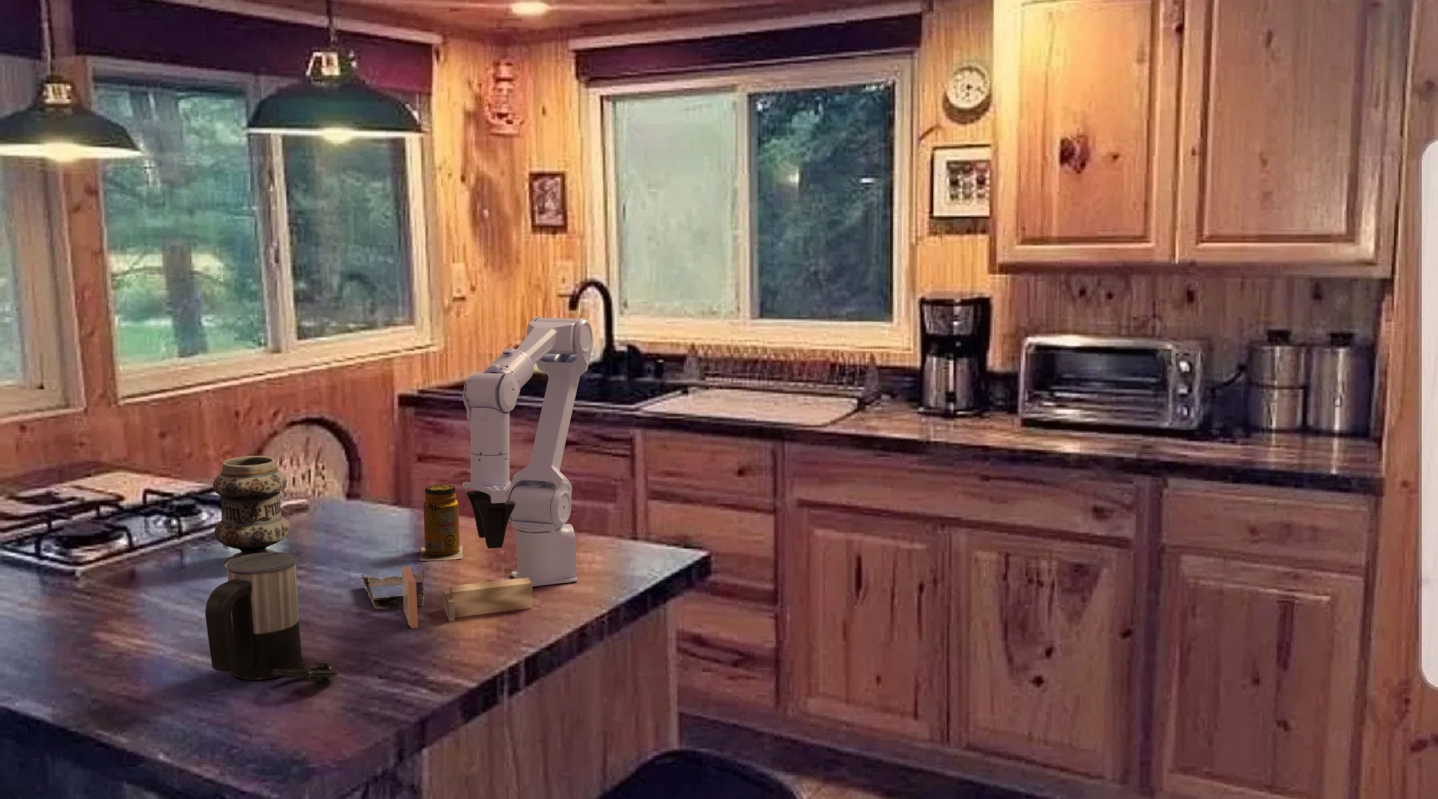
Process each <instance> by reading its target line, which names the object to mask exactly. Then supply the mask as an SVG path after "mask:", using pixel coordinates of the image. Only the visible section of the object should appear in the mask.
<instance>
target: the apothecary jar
mask: <svg viewBox="0 0 1438 799" xmlns="http://www.w3.org/2000/svg"><path fill="white" fill-rule="evenodd" d="M287 482H288V480H287V476H286V475H285V474H284V472H282V471H281V470H280V469H278V466H277V463H276V459H275V458H273V457H271V456H267V455H265V456H264V455H248V456H236V457H232V458H228V459H225V460H224V461H223V462H222V469H221V472H220V473H219V474H218V475H216V477H215V478H214V479H213V482H212V489H213V491H214V493H216V494H217V495H219V496H220V498H221V500H220V502H221V520H220V521H219V522H218V523H217V525H216V526H215V529H214V537H215V539H216V541H218V543H220V544H222V545H223V546H226V547H228V548H232V549H235V550H240V551H239V552H237V553H235V554H233V555H232V556H230V557H228V558H226V559H225V560H224V561H223V565H225V563H226V562H227V561H229V560H231V559H234V558H237V557H240V556H244V555H249V554H254V553H264V552H276V551H275V550H273V549H268V547H271V546H274V545H276V544H278V543H280V542H281V541H282V540H284V539H285V538H286V537H287V535H288V533H289V532H290V529H291V528H290V527H291V526H290V523H289V521H288V520H287V519H286V518H285V517H284V516H282V507H281V492H282V491H283V490H284V488H285V487H286V486H287Z"/></svg>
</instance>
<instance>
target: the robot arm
mask: <svg viewBox="0 0 1438 799" xmlns="http://www.w3.org/2000/svg"><path fill="white" fill-rule="evenodd" d="M593 345H594V334H593V328H592V325H591V324H590V322H589V320H588V319H586V318H585V317H579V318H558V317H541V316H534V317H533V318H532V319H531V321H530V322H529V323H527V326H526V336H525V338H524V339H523V340H522V342H521V343H520V344H519V345H518V347H517V348H504V349H503V351H502V352H501V353H502V354H500V355H499V357H497V359H495V360H494V361H493V362H492V363H491V364H490V365H489V366H487V368H486V369H485V370H484V371H482V372H475V373H472V375H470V376H469V377H467V379H466V381H465V382H464V385H463V386H464V387H463V392H462V400H463V405H464V407H465V410H466V419H467V422H468V423H470V481H463V482H462V488H464V489H471V491H469V490H468V491H466V493H465V495H466V496H467V498H468V500H469V503H470V505H471V508H472V511H473V515H474V520H475V525H476V526H475V527H476V531H477V535H478V537H479V538H480V539H485V540H484V541H485V545H486V548H487V549H502V548H503V545H504V541H505V537H506V531H507V527H508V523H511V528H512V529H515V536H516V537H515V538H516V539H515V540H516V542H515V543H516V568H517V569H516V571H515V570H513V571H511V576H512V577H513V579H519V578H529V579H530V581H531V582H532V588H533V587H540V586H545V585H546V586H548V585H559V584H564V583H573V582H578V577H577V546H576V544H577V543H576V535H575V530H574V527H573V525H572V524H571V523H567V522H568V520H569V519H570V515H571V511H572V492H573V486H572V483H571V482H570V480H569V479H568V478H567V477H566V476H565V475H564V474H563V473H562V472H561V470H560V469H561V465H562V460H563V456H564V450H565V446H566V441H567V437H568V433H569V428H570V424H571V423H570V422H571V418H572V414H573V409H574V405H575V400H576V395H577V392H578V391H577V390H578V385H579V382H580V376H581V375H583V374H584V373H586V372H587V371H588V368H589V365H590V361H591V357H592V356H591V355H592V350H593V347H594V346H593ZM534 365H536V366H537V369H538V370H539V371H541V372H543V373H544V374H546V375H547V377H548V380H547V383H546V388H545V394H544V398H543V401H542V402H543V403H542V406H541V412H540V415H539V420H538V425H537V428H536V432H535V438H534V443H533V447H532V451H531V456H530V460H529V464H528V465H527V466H526V467H524V468H523V469H521V470H519V471H518V472H516V473H515V474H514V475H513V476H512V479H511V480H510V476H511V474H510V473H511V472H510V471H511V470H510V469H511V468H510V465H511V464H510V463H511V462H510V458H511V457H510V456H511V455H510V452H511V451H510V445H511V444H510V443H511V442H510V436H511V435H510V432H511V430H510V429H511V428H510V422H511V421H510V416H511V415H510V412H511V411H512V410H514V408H515V407H516V404H517V399H518V397H519V395H520V392H521V389H522V388H523V386H524V385H525V384H527V382H528V381H529V380H530V379H531V378H532V377H533V374H534V369H535V368H534Z"/></svg>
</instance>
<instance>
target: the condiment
mask: <svg viewBox="0 0 1438 799" xmlns="http://www.w3.org/2000/svg"><path fill="white" fill-rule="evenodd" d="M456 489H457V488H456V487H455V486H454V485H453V484H448V483H443V484H442V483H440V484H437V483H436V484H432V485H428V486H427V487H426V488H425V490H424V492H425V496H424V499H425V501H424V502H423V509H422V510H423V526H424V527H423V529H424V531H423V532H424V547H420V557H419V558H420V559H419V561H426V562H427V561H428V562H429V561H448V560H459V559H461V560H462V559H464V553H463V552H464V551H463V550H464V549H463V548H464V547H463V546H464V545H463V544H460V520H459V518H460V517H459V515H460V514H459V502H458V500H457V499H456V498H457V495H456Z"/></svg>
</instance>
